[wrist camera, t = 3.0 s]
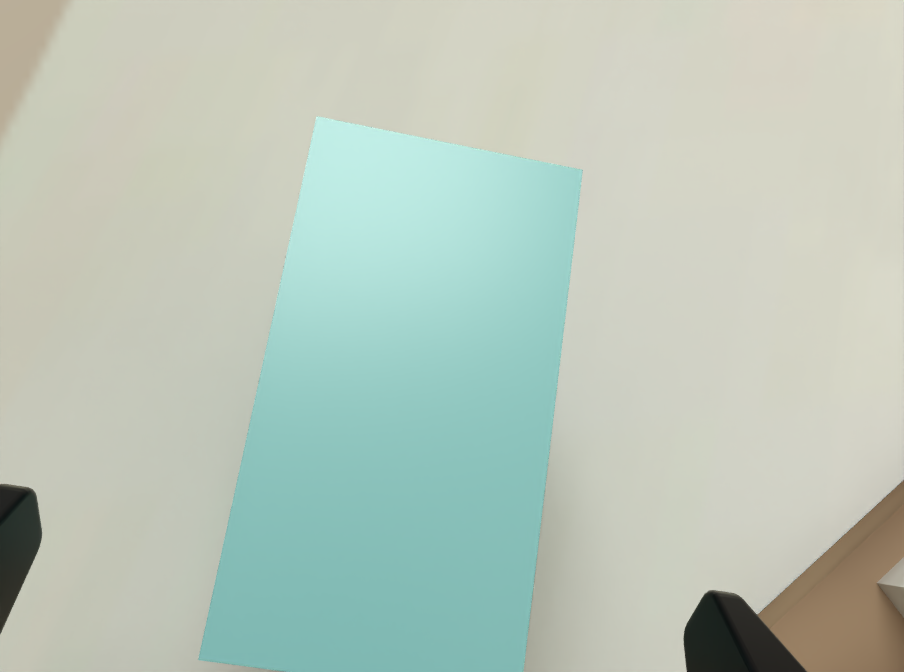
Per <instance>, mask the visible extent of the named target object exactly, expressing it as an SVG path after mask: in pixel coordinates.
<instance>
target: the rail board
mask: <svg viewBox="0 0 904 672" xmlns="http://www.w3.org/2000/svg"><path fill="white" fill-rule="evenodd" d="M758 616H759V618H760V619H761V620H762V621H763V622H764V623H765V624H766V625H767V627H768V628H769V629H770V630H771V631H772V632H773V633H774V635H775V636H776V637H777V638H778V639H779V640H780V641H781V642H782V644H783V645H784V646H785V647H786V648H787V649H788V650H789V651H790V653H791V654H792V655H793V656H794V657H795V658H796V659H797V660H798V662H799V663H800V664H801V665H802V666H803V667H804V668H805V670H806V671H807V672H904V481H903V482H901V483H900V484H899V485H898V486H897V487H896V488H895V489H894V490H893V491H892V492H891V493H889V494H888V495H887V496H886V497H885V498H884V499H883V500H882V501H881V502H880V503H879V504H878V505H876V506H875V507H874V508H873V509H872V510H871V511H870V512H869V513H868V514H867V515H866V516H864V517H863V518H862V519H861V520H860V521H859V522H858V523H857V524H856V525H855V526H854V527H853V528H851V529H850V530H849V531H848V532H847V533H846V534H845V535H844V536H843V537H842V538H841V539H839V540H838V541H837V542H836V543H835V544H834V545H833V546H832V547H831V548H830V549H829V550H828V551H826V552H825V553H824V554H823V555H822V556H821V557H820V558H819V559H818V560H817V561H816V562H814V563H813V564H812V565H811V566H810V567H809V568H808V569H807V570H806V571H805V572H804V573H803V574H801V575H800V576H799V577H798V578H797V579H796V580H795V581H794V582H793V583H792V584H791V585H789V586H788V587H787V588H786V589H785V590H784V591H783V592H782V593H781V594H780V595H779V596H778V597H776V598H775V599H774V600H773V601H772V602H771V603H770V604H769V605H768V606H767V607H766V608H764V609H763V610H762V611H761V612H760V613H759V614H758Z"/></svg>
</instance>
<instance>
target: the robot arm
mask: <svg viewBox="0 0 904 672" xmlns="http://www.w3.org/2000/svg"><path fill="white" fill-rule="evenodd" d="M41 539H42V528H41V521H40V515H39V508H38V502H37V496H36V493H35V492H34V490H33V489H31V488H29V487H22V486H16V485H9V484H0V634H1V632H2V629H3V627H4V625H5V623H6V621H7V618H8V616H9V614H10V612H11V610H12V607H13V605H14V603H15V601H16V598H17V596H18V594H19V592H20V590H21V587H22V585H23V583H24V581H25V579H26V576H27V574H28V572H29V570H30V568H31V565H32V563H33V561H34V559H35V556H36V554H37V552H38V550H39V547H40V543H41ZM684 650H685V659H686V668H687V672H807V671H806V670H805V668H804V667H803V666H802V665H801V664H800V663H799V662H798V660H797V659H796V658H795V657H794V656H793V655H792V654H791V653H790V651H789V650H788V649H787V648H786V647H785V646H784V645H783V644H782V642H781V641H780V640H779V639H778V638H777V637H776V636H775V635H774V633H773V632H772V631H771V630H770V629H769V628H768V627H767V625H766V624H765V623H764V622H763V621H762V620H761V619H760V618H759V616H758V615H757V614H756V613H755V612H754V611H753V610H752V609H751V607H750V606H749V605H748V604H747V603H746V602H745V601H744V600H743V599H742V598H741V597H740V596H739V595H737V594H734V593H729V592H722V591H716V590H710V591H708V592H707V593H705V594H704V596H703V597H702V599H701V601H700V602H699V604H698V606H697V607H696V609H695V611H694V613H693V614H692V616H691V618H690V619H689V621H688V623H687V625H686V627H685V631H684Z"/></svg>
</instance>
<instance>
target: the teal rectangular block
mask: <svg viewBox="0 0 904 672" xmlns="http://www.w3.org/2000/svg"><path fill="white" fill-rule="evenodd" d="M582 171H583V170H580V169H575V168H571V167H566V166H561V165H556V164H551V163H546V162H541V161H536V160H531V159H526V158H521V157H516V156H511V155H506V154H501V153H496V152H491V151H486V150H481V149H476V148H471V147H466V146H461V145H456V144H452V143H447V142H442V141H437V140H432V139H427V138H422V137H417V136H412V135H407V134H402V133H397V132H392V131H387V130H382V129H377V128H372V127H367V126H362V125H357V124H352V123H347V122H342V121H337V120H333V119H328V118H323V117H318V116H317V117H316V122H315V126H314V131H313V135H312V140H311V145H310V149H309V154H308V158H307V163H306V168H305V172H304V177H303V181H302V186H301V191H300V195H299V200H298V204H297V209H296V213H295V218H294V223H293V227H292V232H291V236H290V241H289V246H288V250H287V255H286V259H285V264H284V269H283V273H282V278H281V282H280V287H279V292H278V296H277V301H276V305H275V310H274V315H273V319H272V324H271V328H270V333H269V337H268V342H267V347H266V351H265V356H264V360H263V365H262V370H261V374H260V379H259V383H258V388H257V393H256V397H255V402H254V406H253V411H252V416H251V420H250V425H249V429H248V434H247V439H246V443H245V448H244V452H243V457H242V461H241V466H240V471H239V475H238V480H237V484H236V489H235V494H234V498H233V503H232V507H231V512H230V517H229V521H228V526H227V530H226V535H225V540H224V544H223V549H222V553H221V558H220V563H219V567H218V572H217V576H216V581H215V585H214V590H213V595H212V599H211V604H210V608H209V613H208V618H207V622H206V627H205V631H204V636H203V641H202V645H201V650H200V654H199V659H198V660H202V661H210V662H217V663H225V664H232V665H240V666H247V667H255V668H262V669H270V670H277V671H285V672H523V670H524V662H525V653H526V645H527V636H528V628H529V619H530V611H531V602H532V594H533V585H534V577H535V569H536V560H537V552H538V543H539V535H540V526H541V518H542V509H543V501H544V493H545V484H546V476H547V467H548V459H549V450H550V442H551V433H552V425H553V417H554V408H555V400H556V391H557V383H558V374H559V366H560V357H561V349H562V340H563V332H564V324H565V315H566V307H567V298H568V290H569V281H570V273H571V264H572V256H573V248H574V239H575V231H576V222H577V214H578V205H579V197H580V188H581V180H582Z"/></svg>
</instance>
